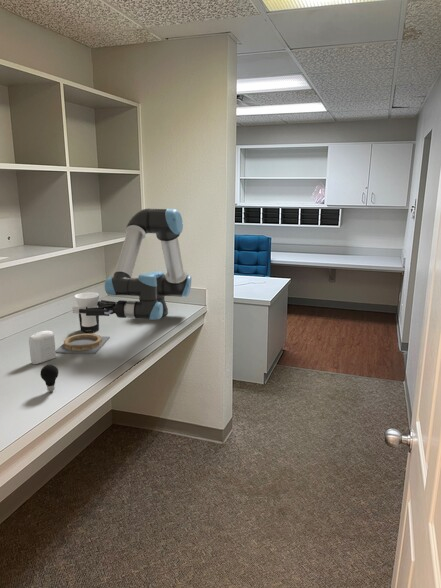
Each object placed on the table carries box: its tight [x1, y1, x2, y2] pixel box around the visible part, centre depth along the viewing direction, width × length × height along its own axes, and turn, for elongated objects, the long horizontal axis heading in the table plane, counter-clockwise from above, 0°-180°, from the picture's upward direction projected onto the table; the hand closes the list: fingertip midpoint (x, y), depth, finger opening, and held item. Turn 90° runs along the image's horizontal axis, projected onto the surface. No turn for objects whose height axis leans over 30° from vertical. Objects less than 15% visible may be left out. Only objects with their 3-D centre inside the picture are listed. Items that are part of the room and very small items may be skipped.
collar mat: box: [55, 335, 111, 355], centre depth 200 cm, size 20×18×1 cm
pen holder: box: [78, 314, 100, 334], centre depth 218 cm, size 9×9×10 cm
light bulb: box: [40, 364, 59, 393], centre depth 155 cm, size 6×6×10 cm
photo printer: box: [28, 330, 57, 365], centre depth 182 cm, size 10×4×12 cm, turn 144°
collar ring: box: [63, 333, 102, 351], centre depth 200 cm, size 16×16×2 cm
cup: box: [74, 291, 100, 327], centre depth 195 cm, size 10×10×14 cm
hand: (78, 306), depth 196 cm, fingers closed on cup, 9 cm apart
